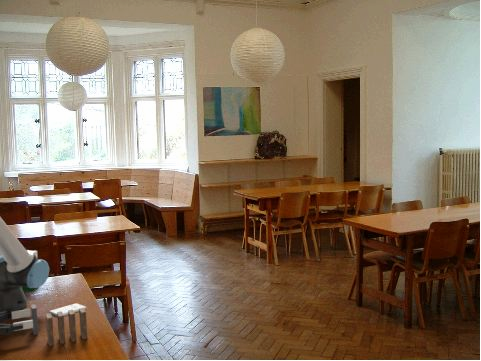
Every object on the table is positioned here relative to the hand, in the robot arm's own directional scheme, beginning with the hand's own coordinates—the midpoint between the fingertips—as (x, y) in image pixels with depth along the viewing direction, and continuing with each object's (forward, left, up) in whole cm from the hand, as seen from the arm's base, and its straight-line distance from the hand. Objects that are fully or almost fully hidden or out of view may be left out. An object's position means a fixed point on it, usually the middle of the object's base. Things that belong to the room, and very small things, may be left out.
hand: (31, 317), depth 196 cm
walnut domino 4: (+13, +16, -6) cm, 22 cm away
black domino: (-1, +1, -6) cm, 6 cm away
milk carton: (-63, +3, -6) cm, 63 cm away
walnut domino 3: (+13, +13, -6) cm, 19 cm away
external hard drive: (-19, +15, -7) cm, 25 cm away
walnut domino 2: (+13, +9, -6) cm, 17 cm away
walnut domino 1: (+13, +5, -6) cm, 16 cm away
